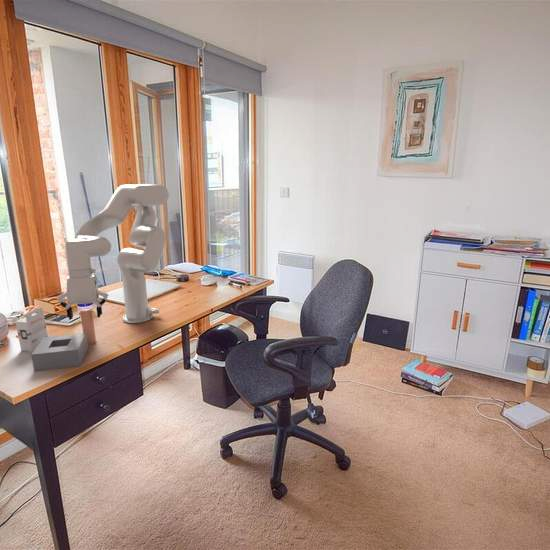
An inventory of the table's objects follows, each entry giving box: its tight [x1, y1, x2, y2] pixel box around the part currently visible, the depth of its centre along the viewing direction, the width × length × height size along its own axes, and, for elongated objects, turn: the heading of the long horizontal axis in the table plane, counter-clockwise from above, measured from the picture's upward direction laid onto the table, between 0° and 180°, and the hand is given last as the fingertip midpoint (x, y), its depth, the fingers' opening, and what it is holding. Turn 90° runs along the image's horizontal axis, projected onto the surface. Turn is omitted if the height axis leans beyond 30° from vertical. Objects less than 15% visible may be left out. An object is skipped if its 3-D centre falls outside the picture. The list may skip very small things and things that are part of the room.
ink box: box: [14, 306, 49, 353], centre depth 145 cm, size 9×5×15 cm, turn 170°
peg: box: [79, 308, 97, 345], centre depth 149 cm, size 4×4×13 cm
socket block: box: [30, 332, 89, 372], centre depth 137 cm, size 14×14×6 cm
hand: (85, 317), depth 147 cm, fingers open, 9 cm apart
